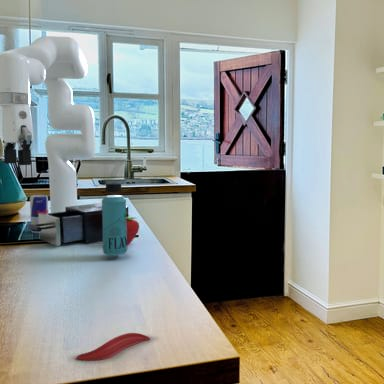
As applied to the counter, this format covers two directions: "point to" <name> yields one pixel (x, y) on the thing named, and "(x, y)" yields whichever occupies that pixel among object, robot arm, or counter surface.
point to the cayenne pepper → (113, 346)
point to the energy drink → (38, 208)
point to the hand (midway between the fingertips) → (17, 164)
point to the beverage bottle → (114, 221)
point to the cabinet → (91, 221)
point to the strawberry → (131, 228)
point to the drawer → (60, 227)
